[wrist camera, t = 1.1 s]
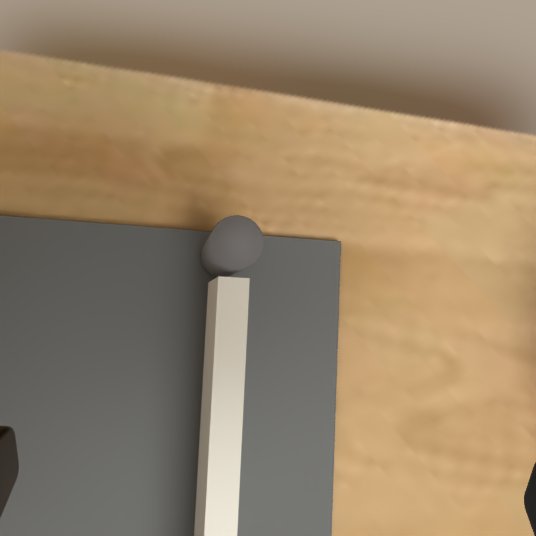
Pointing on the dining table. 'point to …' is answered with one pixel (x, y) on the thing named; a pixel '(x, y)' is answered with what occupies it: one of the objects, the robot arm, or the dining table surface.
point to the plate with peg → (161, 375)
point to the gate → (222, 407)
